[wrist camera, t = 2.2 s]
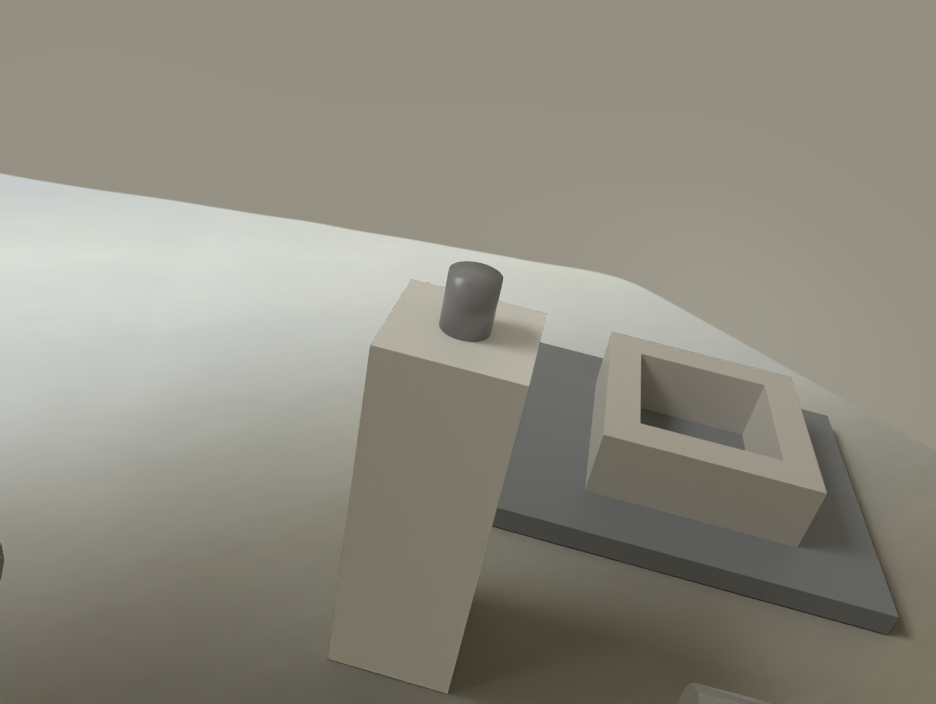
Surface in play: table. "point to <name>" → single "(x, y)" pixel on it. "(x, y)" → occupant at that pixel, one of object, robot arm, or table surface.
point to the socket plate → (693, 478)
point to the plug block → (430, 472)
